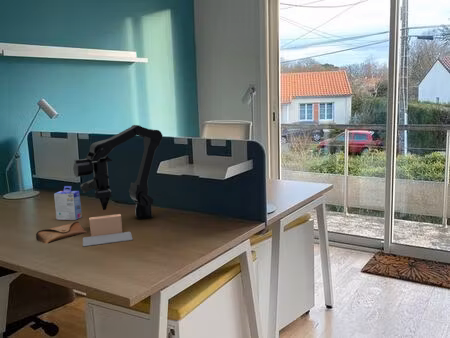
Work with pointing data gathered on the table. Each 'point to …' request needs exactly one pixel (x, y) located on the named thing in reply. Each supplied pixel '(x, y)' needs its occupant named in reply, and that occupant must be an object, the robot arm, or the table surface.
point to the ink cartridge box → (67, 204)
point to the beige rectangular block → (105, 225)
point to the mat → (107, 239)
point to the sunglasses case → (59, 232)
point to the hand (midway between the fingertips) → (104, 209)
